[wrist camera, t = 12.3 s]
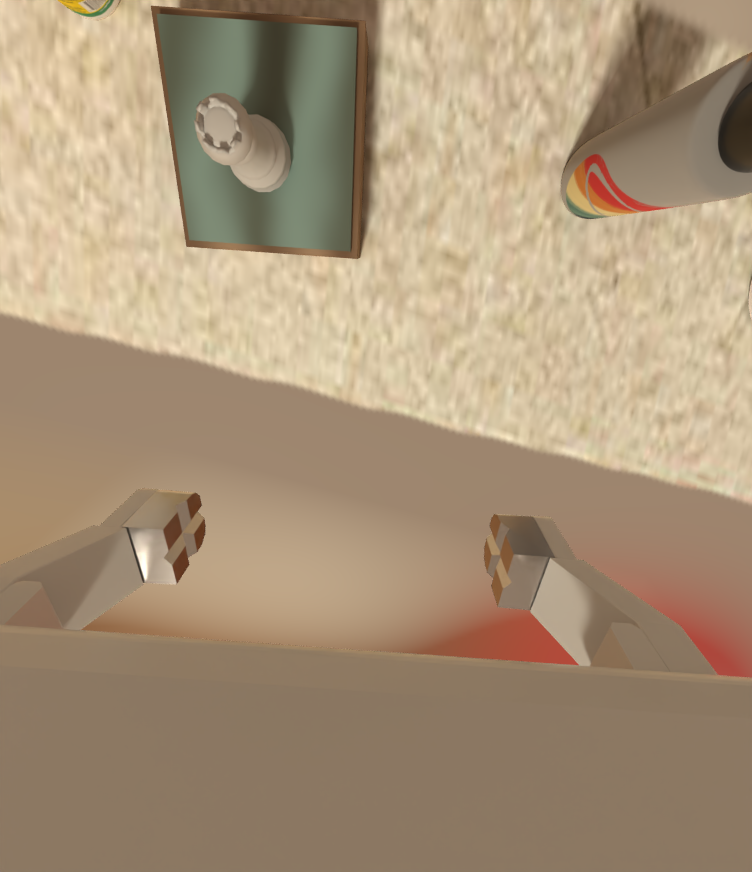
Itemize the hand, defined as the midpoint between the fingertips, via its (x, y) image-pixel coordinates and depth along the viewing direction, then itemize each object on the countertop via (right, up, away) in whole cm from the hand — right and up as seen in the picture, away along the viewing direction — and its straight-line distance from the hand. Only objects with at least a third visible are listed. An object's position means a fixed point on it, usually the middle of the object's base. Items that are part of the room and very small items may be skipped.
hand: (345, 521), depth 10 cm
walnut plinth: (-7, +25, +20) cm, 33 cm away
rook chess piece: (-8, +23, +17) cm, 30 cm away
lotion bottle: (+19, +23, +20) cm, 36 cm away
